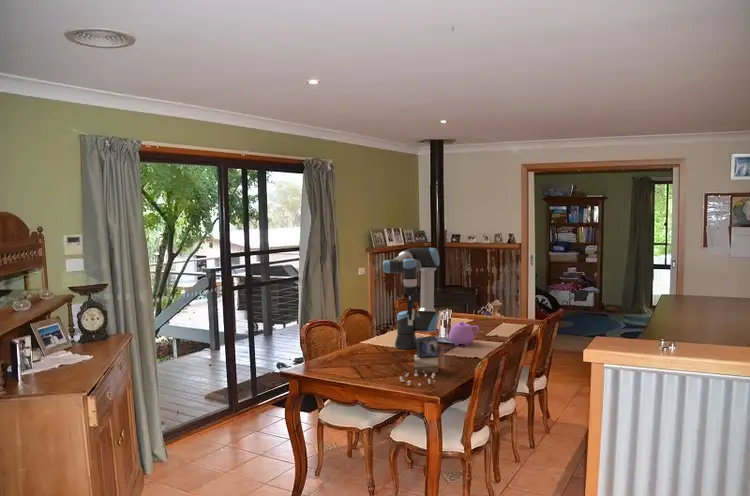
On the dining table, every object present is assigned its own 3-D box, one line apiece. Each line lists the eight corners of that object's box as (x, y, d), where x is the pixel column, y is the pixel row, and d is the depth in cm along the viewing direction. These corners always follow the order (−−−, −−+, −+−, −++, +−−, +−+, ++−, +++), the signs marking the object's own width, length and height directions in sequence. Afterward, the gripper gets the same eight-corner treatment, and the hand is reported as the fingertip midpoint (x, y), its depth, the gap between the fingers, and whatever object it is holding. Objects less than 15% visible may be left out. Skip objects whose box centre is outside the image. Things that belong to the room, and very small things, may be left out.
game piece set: (433, 375, 315) (433, 368, 315) (438, 386, 295) (438, 379, 295) (397, 376, 314) (397, 369, 314) (400, 387, 294) (400, 380, 294)
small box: (419, 358, 318) (419, 340, 318) (416, 355, 325) (416, 337, 324) (438, 357, 321) (437, 338, 320) (434, 354, 327) (434, 336, 326)
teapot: (477, 340, 392) (477, 318, 391) (480, 347, 372) (480, 324, 371) (448, 340, 394) (448, 318, 393) (449, 347, 374) (449, 324, 373)
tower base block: (415, 368, 329) (415, 361, 329) (438, 368, 327) (438, 361, 327) (414, 373, 319) (414, 366, 319) (437, 373, 317) (437, 366, 317)
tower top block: (414, 361, 328) (414, 354, 328) (437, 361, 327) (437, 354, 327) (414, 366, 318) (414, 359, 318) (438, 366, 317) (438, 359, 317)
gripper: (405, 282, 344) (406, 317, 346) (401, 289, 319) (402, 327, 321) (418, 282, 343) (418, 317, 345) (415, 289, 318) (416, 327, 320)
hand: (411, 322), depth 333 cm, fingers open, 13 cm apart
